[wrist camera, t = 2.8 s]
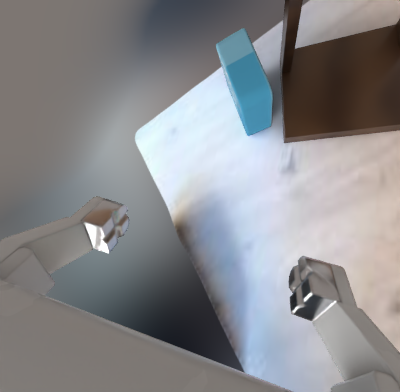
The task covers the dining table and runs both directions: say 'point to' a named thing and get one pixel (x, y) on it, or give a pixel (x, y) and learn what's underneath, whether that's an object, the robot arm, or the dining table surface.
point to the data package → (246, 81)
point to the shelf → (339, 82)
